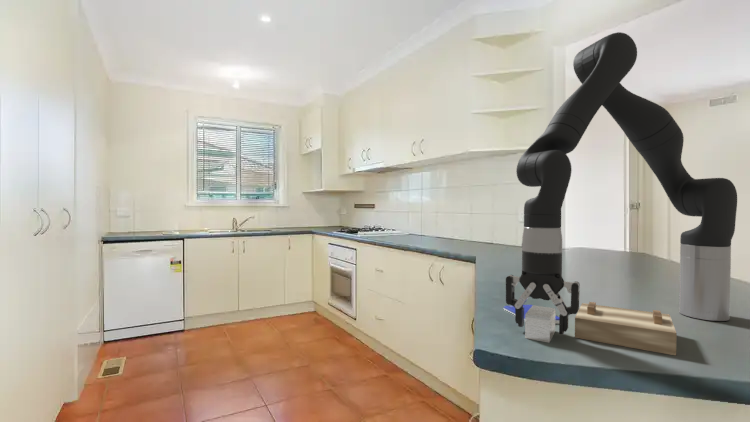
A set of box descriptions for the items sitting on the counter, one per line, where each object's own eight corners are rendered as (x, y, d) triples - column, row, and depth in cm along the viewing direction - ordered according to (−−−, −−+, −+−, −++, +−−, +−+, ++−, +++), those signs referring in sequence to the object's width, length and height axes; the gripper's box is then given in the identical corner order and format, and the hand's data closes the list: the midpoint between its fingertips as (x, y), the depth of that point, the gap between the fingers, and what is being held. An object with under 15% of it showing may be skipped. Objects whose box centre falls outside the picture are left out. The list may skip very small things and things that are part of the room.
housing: (532, 328, 82) (532, 305, 82) (555, 331, 80) (555, 308, 80) (525, 338, 76) (525, 313, 76) (549, 343, 73) (549, 317, 73)
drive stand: (581, 320, 88) (582, 296, 88) (669, 333, 79) (669, 307, 79) (574, 337, 76) (575, 310, 76) (676, 355, 67) (676, 324, 67)
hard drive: (503, 305, 96) (532, 320, 84) (532, 304, 98) (564, 318, 85) (503, 311, 96) (531, 327, 84) (532, 310, 98) (564, 325, 85)
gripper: (583, 250, 77) (582, 331, 77) (510, 245, 85) (509, 318, 85) (579, 253, 70) (578, 342, 71) (501, 248, 78) (500, 327, 79)
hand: (540, 329), depth 78 cm, fingers open, 7 cm apart
